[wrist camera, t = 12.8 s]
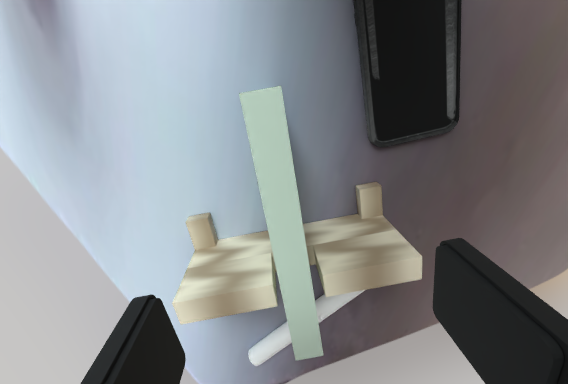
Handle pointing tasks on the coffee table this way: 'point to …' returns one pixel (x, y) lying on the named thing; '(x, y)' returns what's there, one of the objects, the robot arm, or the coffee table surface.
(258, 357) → the marker
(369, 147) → the coffee table surface
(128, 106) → the coffee table surface
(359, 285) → the slotted wooden stand
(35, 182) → the coffee table surface
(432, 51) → the phone
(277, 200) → the mint green slab
